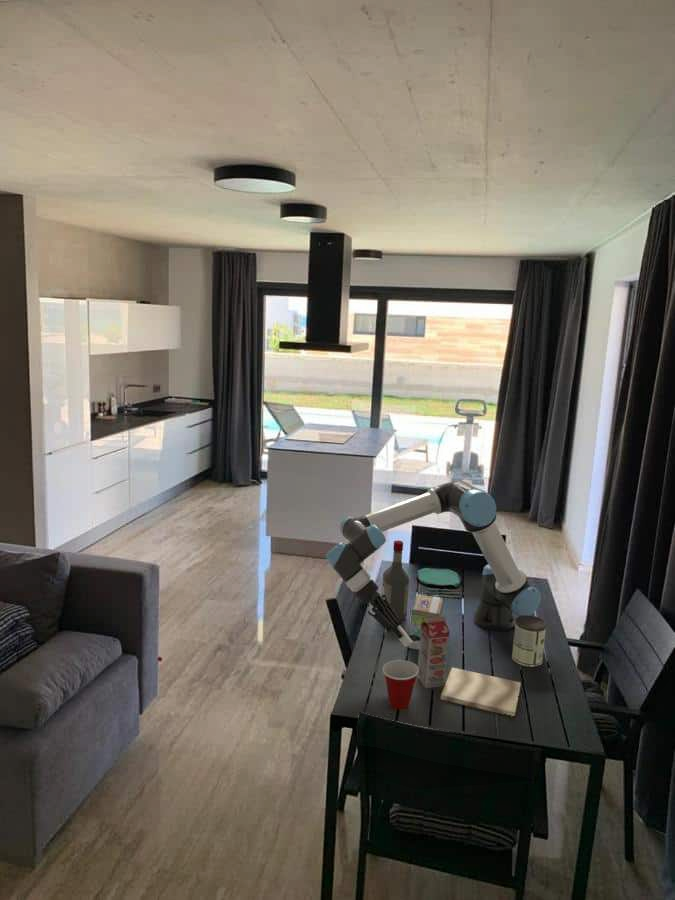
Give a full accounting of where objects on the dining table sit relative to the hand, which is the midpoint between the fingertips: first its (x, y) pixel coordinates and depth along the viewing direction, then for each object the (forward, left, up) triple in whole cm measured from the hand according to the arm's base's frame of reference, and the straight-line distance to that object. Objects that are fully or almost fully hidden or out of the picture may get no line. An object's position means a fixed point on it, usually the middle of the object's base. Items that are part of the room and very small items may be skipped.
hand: (408, 644), depth 214 cm
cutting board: (-21, +12, -11) cm, 26 cm away
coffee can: (-45, -7, -11) cm, 47 cm away
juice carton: (-7, +4, -11) cm, 14 cm away
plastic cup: (+7, +16, -11) cm, 21 cm away
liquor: (-7, -44, -11) cm, 46 cm away
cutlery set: (-36, -74, -12) cm, 83 cm away
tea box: (-13, -23, -11) cm, 28 cm away
